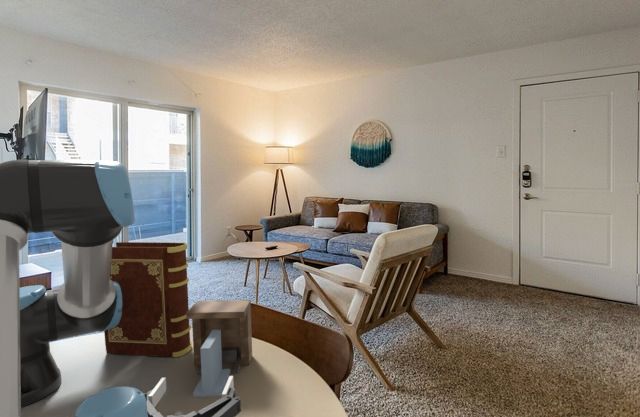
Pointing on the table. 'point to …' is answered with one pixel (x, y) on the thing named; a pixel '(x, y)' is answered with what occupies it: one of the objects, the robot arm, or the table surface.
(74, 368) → the table surface
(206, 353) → the bookend
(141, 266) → the decorative book
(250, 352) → the cubby
